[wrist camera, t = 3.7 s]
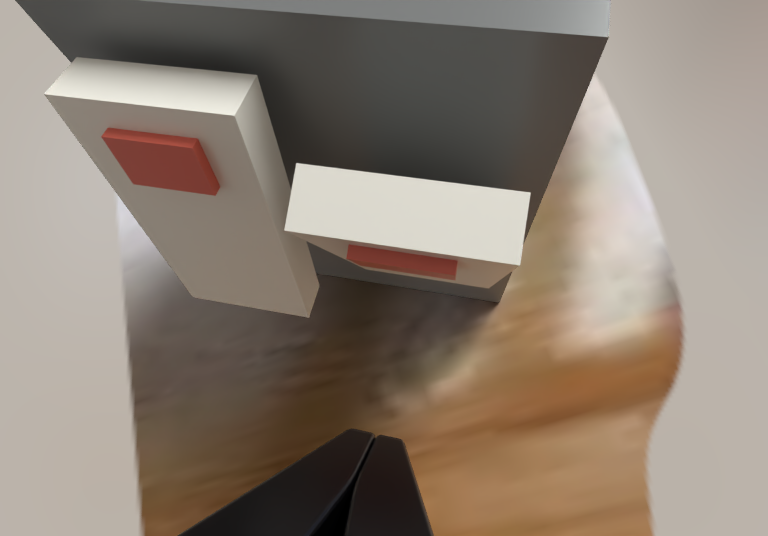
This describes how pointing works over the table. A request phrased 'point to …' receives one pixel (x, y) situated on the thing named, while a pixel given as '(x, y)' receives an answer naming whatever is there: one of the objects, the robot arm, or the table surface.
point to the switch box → (376, 83)
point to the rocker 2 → (410, 224)
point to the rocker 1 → (195, 175)
